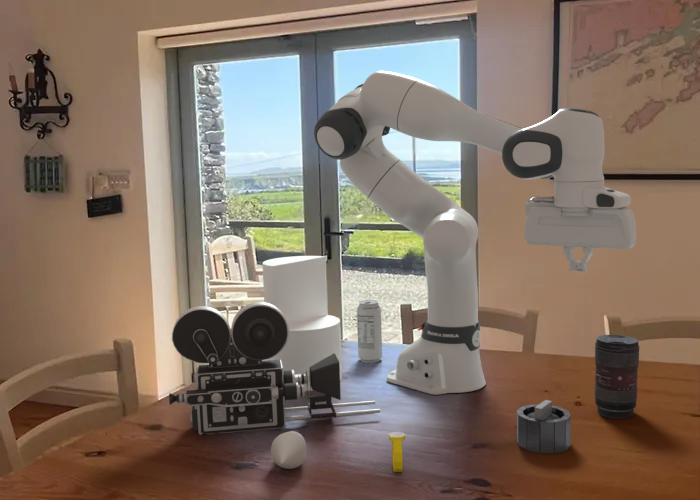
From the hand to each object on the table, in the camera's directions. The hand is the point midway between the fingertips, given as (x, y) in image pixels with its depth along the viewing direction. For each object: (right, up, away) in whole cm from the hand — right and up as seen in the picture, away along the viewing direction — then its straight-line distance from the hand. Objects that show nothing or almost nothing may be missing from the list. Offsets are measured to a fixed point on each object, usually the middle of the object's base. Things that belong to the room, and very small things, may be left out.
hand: (578, 270), depth 139 cm
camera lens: (+10, -28, +7) cm, 31 cm away
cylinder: (-53, -27, +35) cm, 69 cm away
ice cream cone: (-53, -33, -15) cm, 64 cm away
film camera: (-57, -30, +7) cm, 65 cm away
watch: (-35, -33, -16) cm, 50 cm away
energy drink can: (-38, -24, +49) cm, 66 cm away
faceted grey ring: (-8, -31, -7) cm, 32 cm away
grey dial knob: (-9, -28, -8) cm, 30 cm away
